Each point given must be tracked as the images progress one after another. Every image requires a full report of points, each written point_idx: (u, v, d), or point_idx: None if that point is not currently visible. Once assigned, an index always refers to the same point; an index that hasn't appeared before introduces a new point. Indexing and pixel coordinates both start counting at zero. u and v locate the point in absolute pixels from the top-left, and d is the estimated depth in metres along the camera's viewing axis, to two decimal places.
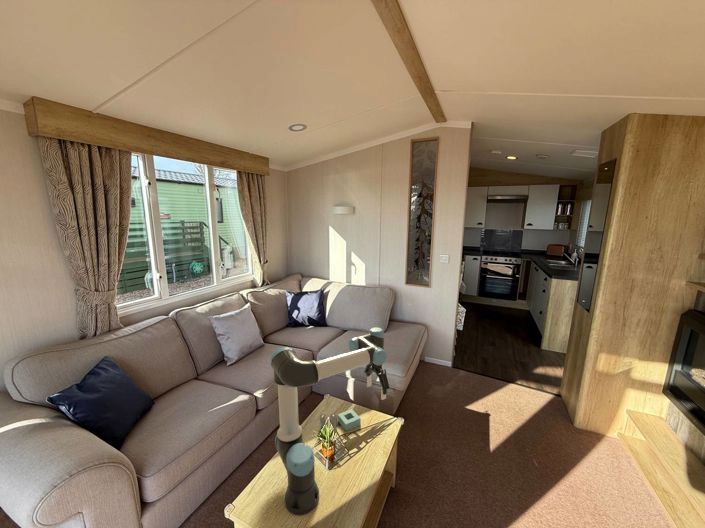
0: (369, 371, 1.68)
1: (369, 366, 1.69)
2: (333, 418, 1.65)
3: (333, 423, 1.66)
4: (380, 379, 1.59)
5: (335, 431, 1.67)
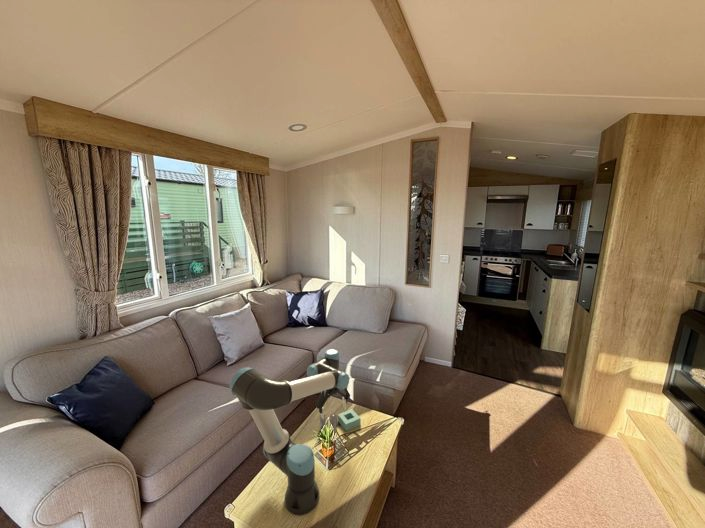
0: None
1: None
2: (333, 418, 1.65)
3: (333, 423, 1.66)
4: (323, 397, 1.63)
5: (335, 431, 1.67)
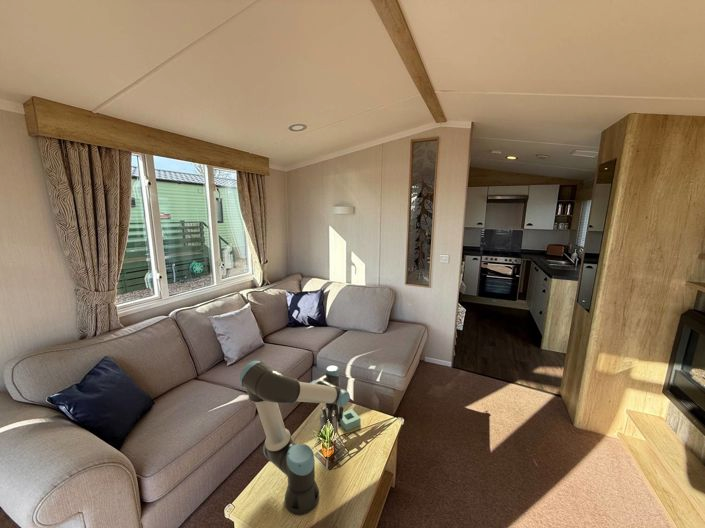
0: None
1: (340, 408, 1.68)
2: (333, 418, 1.65)
3: (333, 423, 1.66)
4: None
5: (335, 431, 1.67)
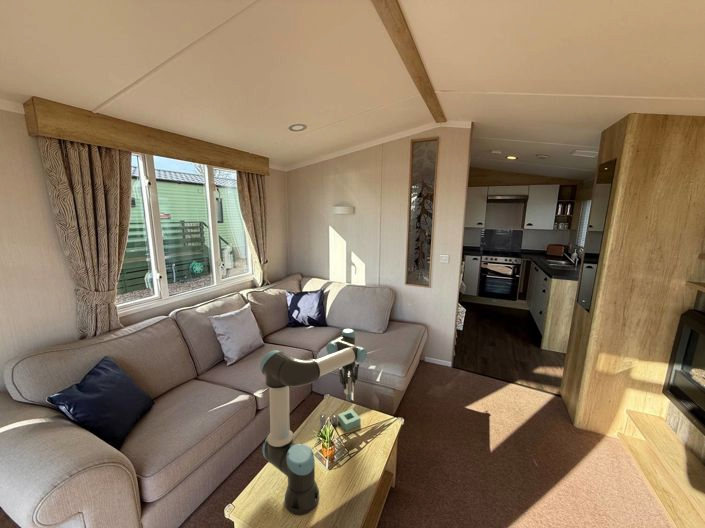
0: None
1: (355, 370, 1.78)
2: (349, 378, 1.75)
3: (349, 383, 1.76)
4: None
5: (350, 391, 1.77)
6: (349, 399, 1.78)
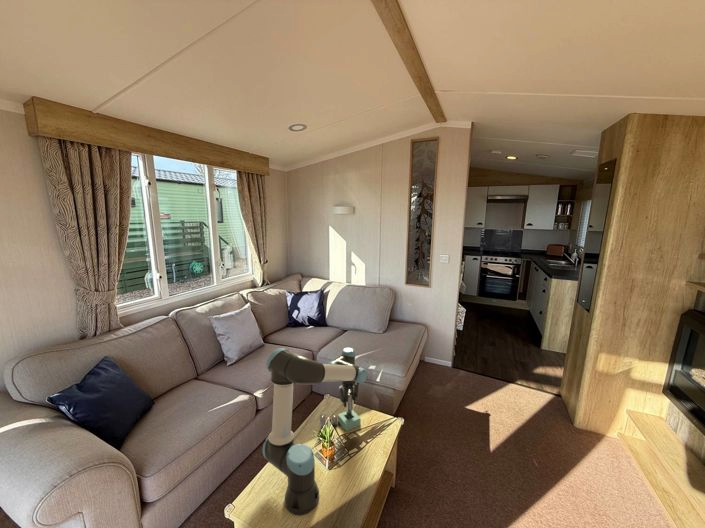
0: None
1: (355, 387, 1.81)
2: (349, 396, 1.77)
3: (349, 401, 1.78)
4: None
5: (351, 409, 1.79)
6: (349, 417, 1.80)
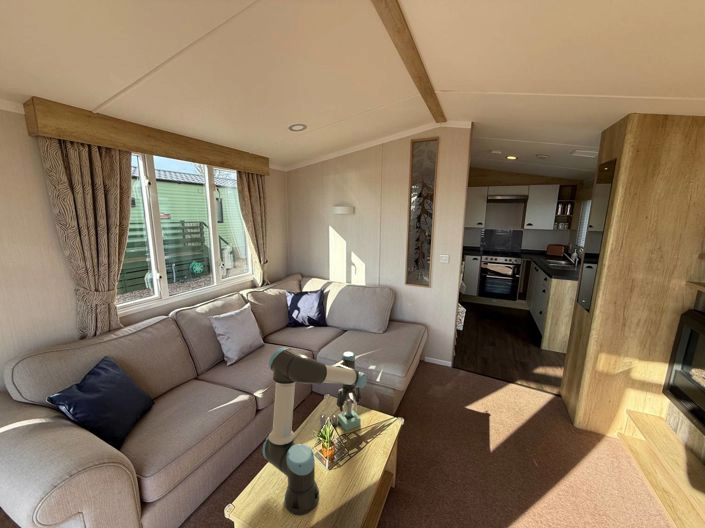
0: None
1: (356, 390, 1.81)
2: (349, 403, 1.78)
3: (349, 408, 1.79)
4: None
5: (350, 415, 1.80)
6: None
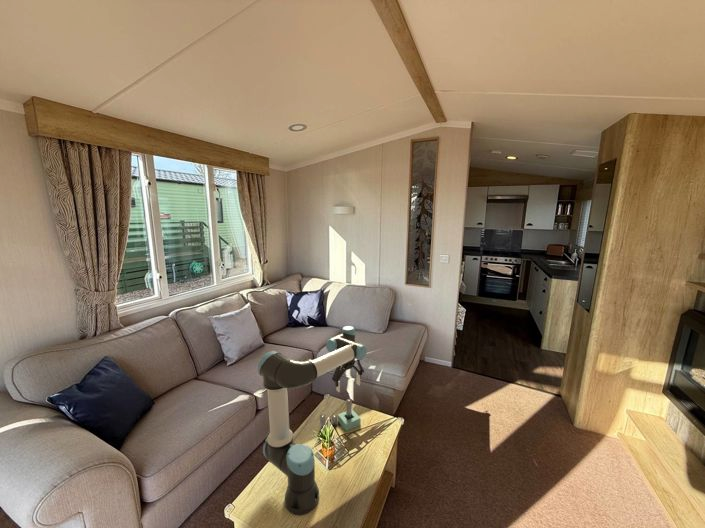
0: None
1: (358, 365, 1.77)
2: (349, 403, 1.78)
3: (349, 408, 1.79)
4: None
5: (350, 415, 1.80)
6: None
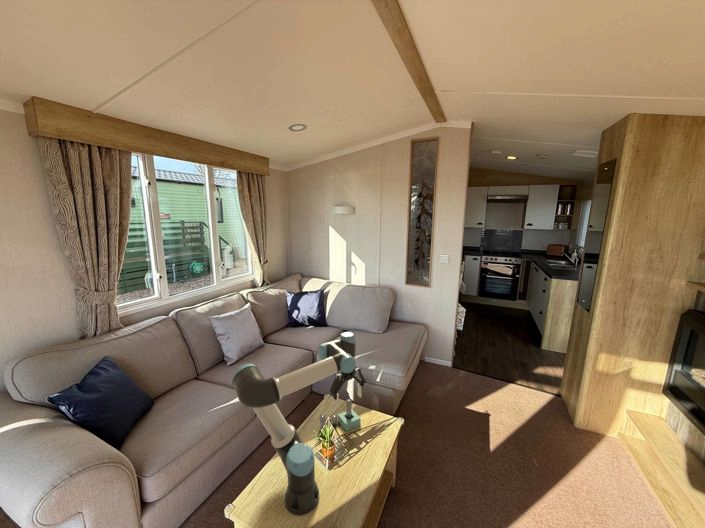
0: None
1: (359, 375, 1.59)
2: (349, 403, 1.78)
3: (349, 408, 1.79)
4: (337, 383, 1.54)
5: (350, 415, 1.80)
6: None
